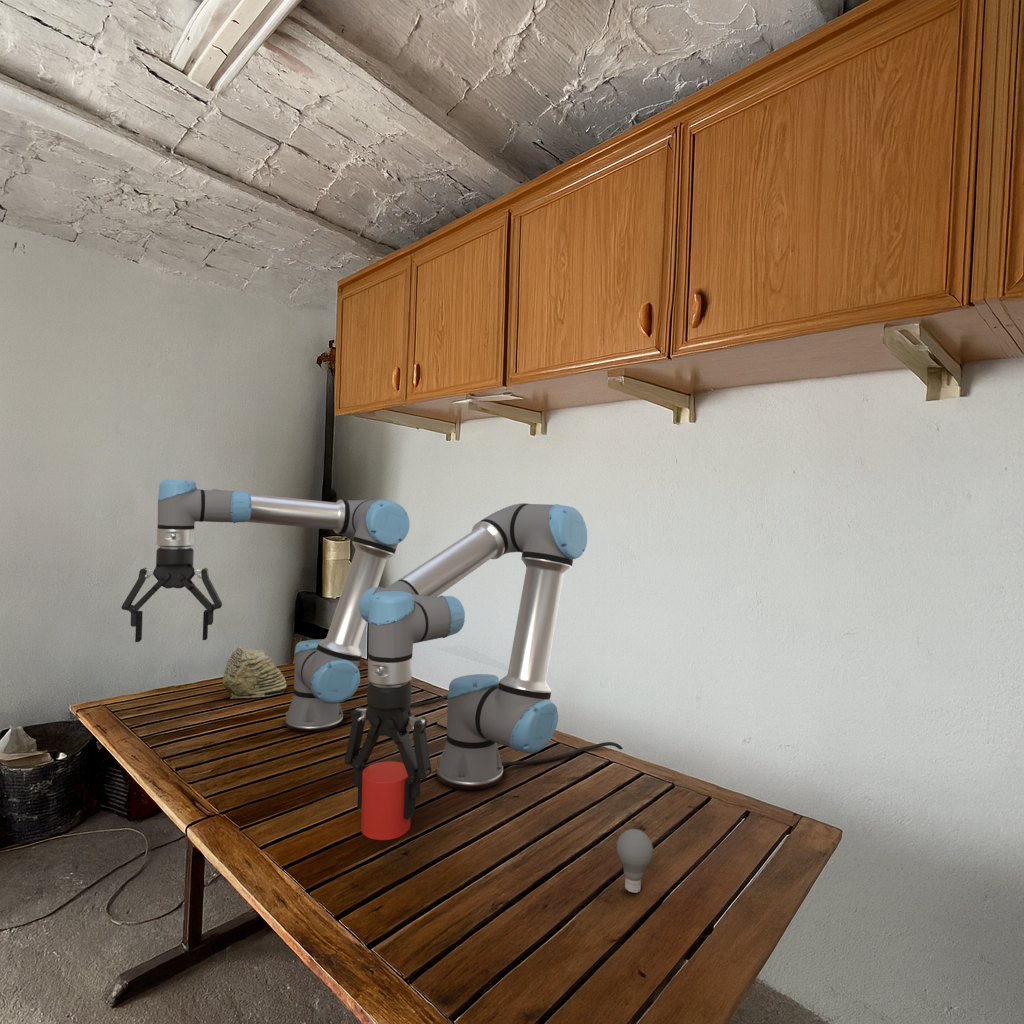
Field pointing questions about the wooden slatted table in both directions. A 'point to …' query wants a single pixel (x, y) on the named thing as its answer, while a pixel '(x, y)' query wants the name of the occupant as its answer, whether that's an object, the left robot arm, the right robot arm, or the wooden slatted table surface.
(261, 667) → the fossil
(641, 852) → the light bulb
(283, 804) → the wooden slatted table surface
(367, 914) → the wooden slatted table surface
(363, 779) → the can
